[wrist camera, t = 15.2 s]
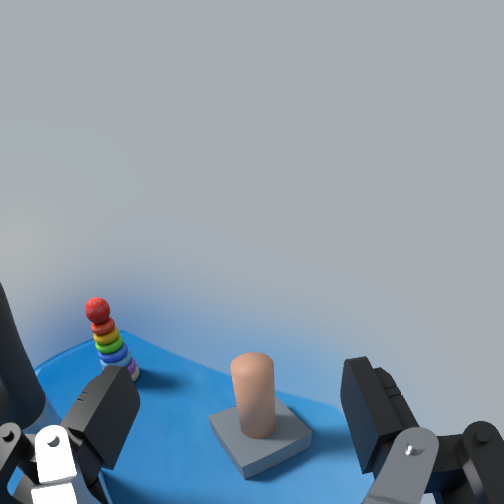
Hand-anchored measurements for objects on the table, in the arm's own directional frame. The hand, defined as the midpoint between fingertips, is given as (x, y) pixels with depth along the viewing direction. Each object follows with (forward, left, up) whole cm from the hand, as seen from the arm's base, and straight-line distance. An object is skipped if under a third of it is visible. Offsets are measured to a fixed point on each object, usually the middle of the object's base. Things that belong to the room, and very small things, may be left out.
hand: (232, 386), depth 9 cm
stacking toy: (-9, +44, -30) cm, 54 cm away
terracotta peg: (+9, +17, -26) cm, 32 cm away
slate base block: (+9, +17, -30) cm, 35 cm away
